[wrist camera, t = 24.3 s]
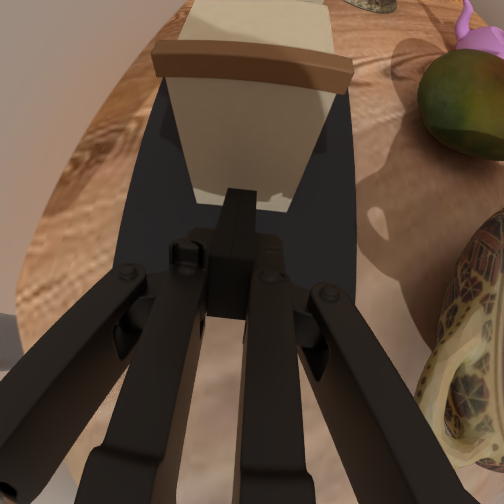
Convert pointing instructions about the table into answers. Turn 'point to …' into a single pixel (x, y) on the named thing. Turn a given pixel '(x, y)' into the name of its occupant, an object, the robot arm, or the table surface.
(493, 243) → the ceramic bowl
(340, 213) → the base
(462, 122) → the fruit
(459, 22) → the teapot
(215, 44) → the cream rectangular block
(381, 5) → the cake
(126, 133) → the table surface
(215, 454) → the table surface
